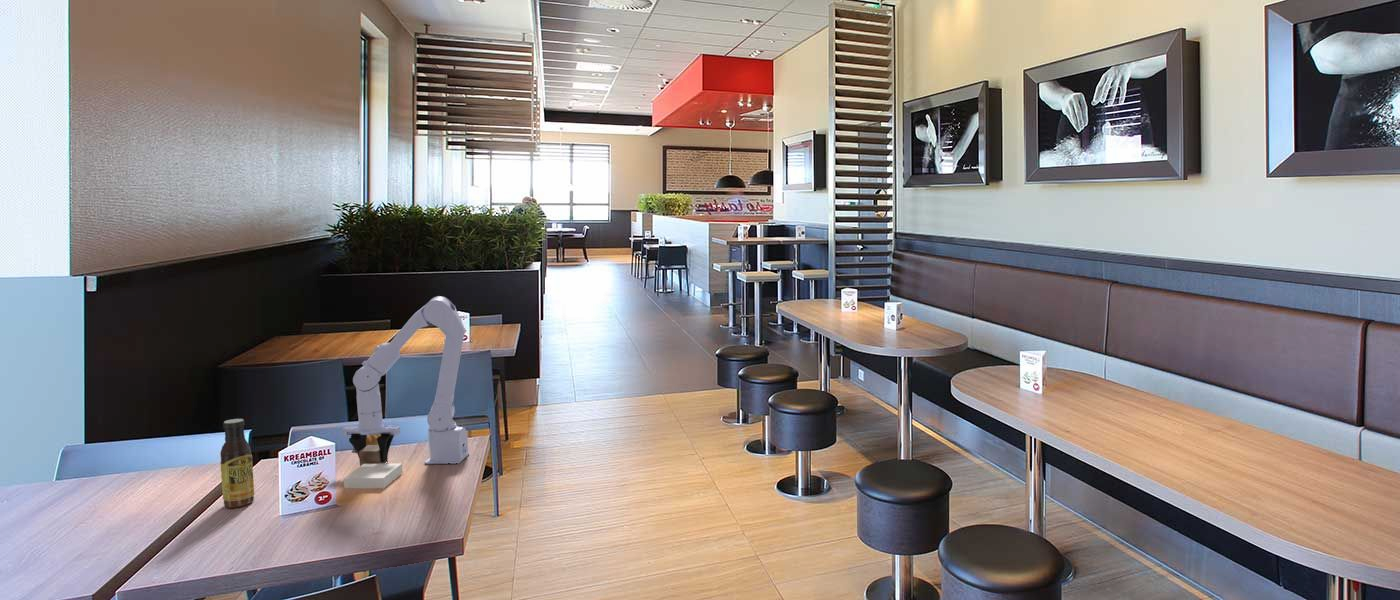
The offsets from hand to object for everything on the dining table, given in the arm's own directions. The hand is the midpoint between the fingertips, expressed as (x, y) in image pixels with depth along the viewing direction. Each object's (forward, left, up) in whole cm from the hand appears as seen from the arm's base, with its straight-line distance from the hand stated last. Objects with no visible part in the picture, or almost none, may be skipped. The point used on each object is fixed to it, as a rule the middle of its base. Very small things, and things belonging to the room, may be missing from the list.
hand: (373, 461), depth 190 cm
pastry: (+8, -17, -2) cm, 19 cm away
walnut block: (0, 0, -1) cm, 1 cm away
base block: (-5, +10, -2) cm, 11 cm away
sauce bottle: (+20, +24, -2) cm, 31 cm away
